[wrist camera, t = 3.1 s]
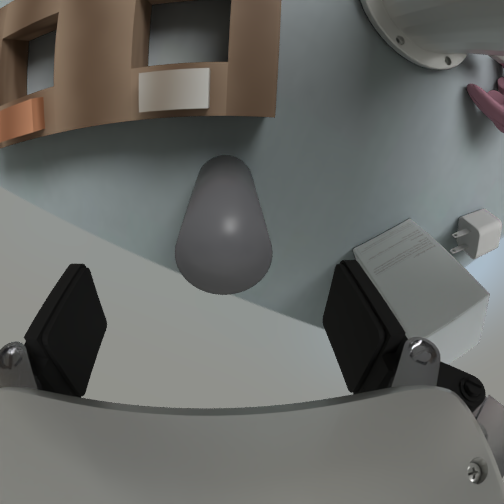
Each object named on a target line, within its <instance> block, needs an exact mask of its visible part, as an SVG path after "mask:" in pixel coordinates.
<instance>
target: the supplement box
mask: <svg viewBox="0 0 504 504" xmlns="http://www.w3.org/2000/svg"><path fill="white" fill-rule="evenodd" d="M353 252H354V255H355V258H356V261H357V262H358V263H359V264H360V266H361V267H362V268H363V270H364V271H365V273H366V274H367V276H368V277H369V278H370V280H371V281H372V283H373V284H374V285H375V287H376V288H377V290H378V291H379V293H380V294H381V296H382V297H383V299H384V300H385V302H386V303H387V305H388V306H389V308H390V309H391V311H392V312H393V314H394V315H395V317H396V318H397V320H398V321H399V323H400V324H401V326H402V328H403V329H404V331H405V332H406V333H405V335H406V337H407V338H408V339H409V338H412V337H422V338H426V339H428V340H430V341H431V342H432V343H434V344H435V345H436V347H437V348H438V350H439V352H440V358H441V359H440V361H441V362H443V363H446V364H450V363H451V362H453V361H455V360H456V359H458V358H459V357H461V356H462V355H463V354H465V353H466V352H467V351H469V350H471V349H472V348H473V347H475V346H476V345H478V344H479V341H480V337H481V333H482V329H483V325H484V321H485V315H486V310H487V306H488V301H489V296H490V294H489V293H488V292H487V291H486V290H485V289H484V288H483V287H482V286H481V284H480V283H479V282H477V280H476V279H475V278H474V277H473V276H472V275H471V274H470V273H469V272H468V271H467V270H466V269H465V268H464V267H463V266H462V265H461V264H460V263H459V262H458V261H457V260H456V259H455V258H454V257H453V256H452V255H451V254H450V253H449V252H448V251H447V250H446V249H445V248H444V247H442V246H441V245H440V244H439V243H438V242H437V241H436V240H435V239H434V238H433V237H432V236H430V235H429V234H428V233H427V232H426V231H425V230H423V229H422V228H421V227H420V226H419V225H418V224H416V223H415V222H414V221H413V220H412V219H408V220H406V221H404V222H403V223H401V224H399V225H397V226H395V227H394V228H392V229H390V230H388V231H386V232H384V233H382V234H381V235H379V236H377V237H375V238H373V239H371V240H369V241H367V242H365V243H363V244H362V245H360V246H358V247H356V248H354V249H353Z"/></svg>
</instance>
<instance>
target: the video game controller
mask: <svg viewBox="0 0 504 504" xmlns="http://www.w3.org/2000/svg"><path fill="white" fill-rule="evenodd" d="M500 64H501V63H500ZM501 65H502V67H503V68H504V63H503V64H501ZM498 90H499V92H498V91H496V90H491V91H489V92H488V93H486V92H485V91H484V90H483V89H482V88H480V87H479V86H477V85H474V84H468V85H467V91H468V93H469V95H470V97H471V99H472V100H473V102H474V103H475V104H476V105H477V107H478V108H479V109H480V110H481V111H482V112H483V113H484V114H485V115H486V116H487V117H488V118H489V119H491V120H492V121H493V122H494V124H495V126H496V127H497V128H498V129H499V130H500V131H501V132H503V133H504V96H503V95H504V77H500V78H499V79H498Z"/></svg>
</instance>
